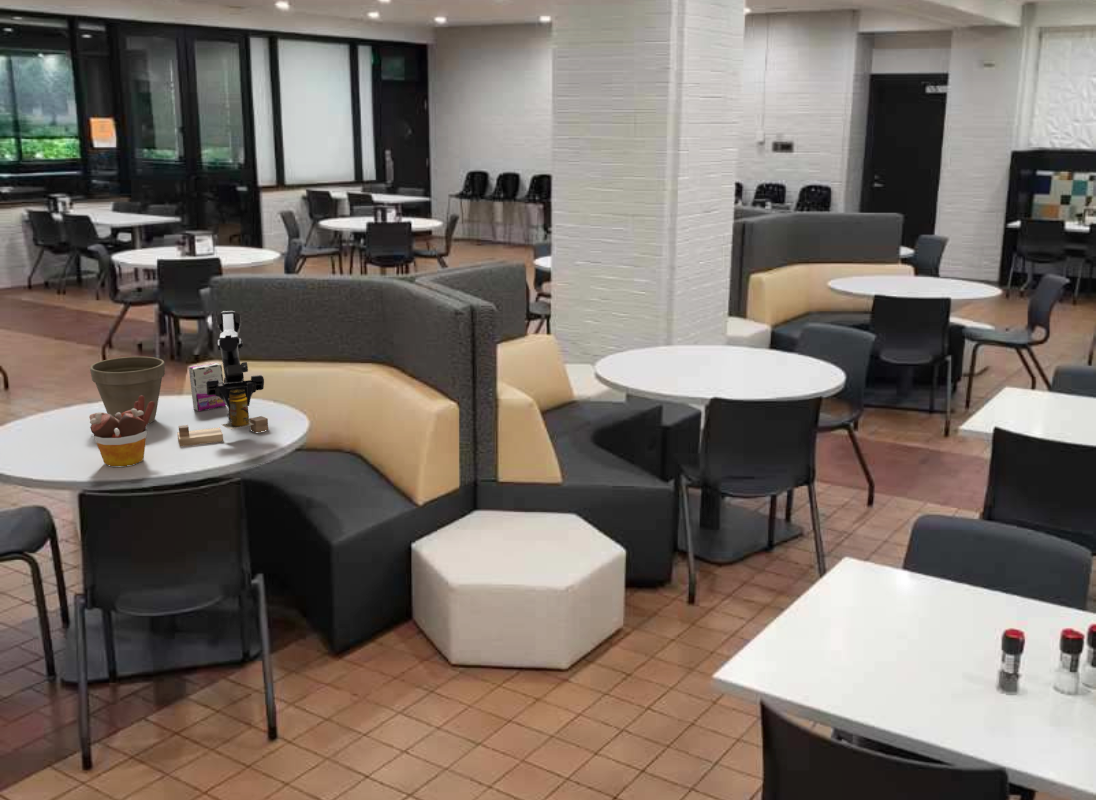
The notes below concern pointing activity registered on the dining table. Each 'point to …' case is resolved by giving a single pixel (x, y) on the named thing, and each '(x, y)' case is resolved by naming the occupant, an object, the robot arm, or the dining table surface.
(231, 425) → the condiment
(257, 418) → the block
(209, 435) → the foundation
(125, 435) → the bucket of meat
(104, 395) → the plant pot
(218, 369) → the candy bar box
